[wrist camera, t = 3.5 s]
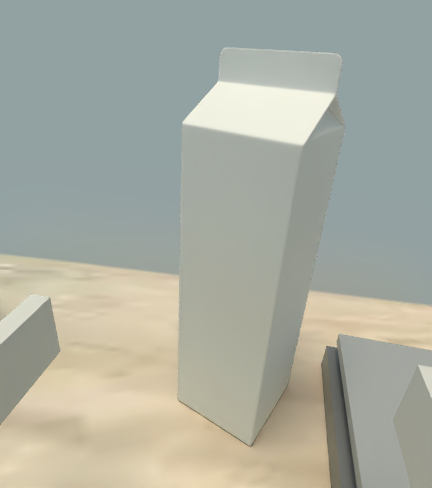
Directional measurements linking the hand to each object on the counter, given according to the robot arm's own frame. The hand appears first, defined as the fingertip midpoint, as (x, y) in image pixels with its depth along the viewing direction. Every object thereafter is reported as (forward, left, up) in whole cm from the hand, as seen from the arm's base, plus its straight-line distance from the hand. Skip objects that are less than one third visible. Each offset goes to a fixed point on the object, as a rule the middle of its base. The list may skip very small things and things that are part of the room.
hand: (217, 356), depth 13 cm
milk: (0, -9, -12) cm, 15 cm away
